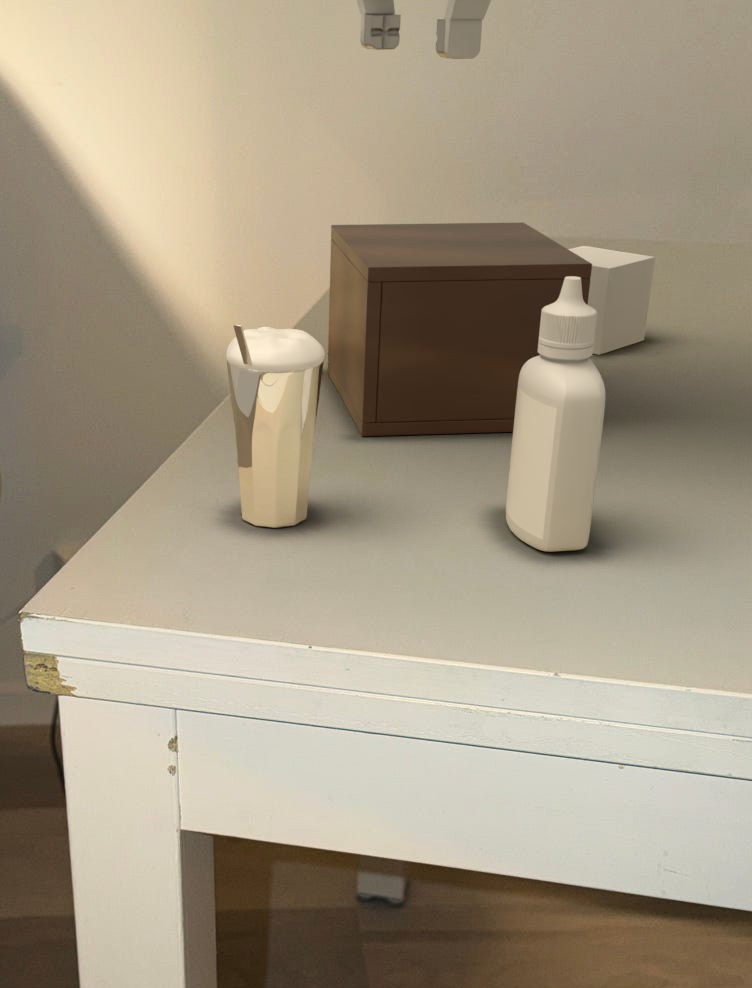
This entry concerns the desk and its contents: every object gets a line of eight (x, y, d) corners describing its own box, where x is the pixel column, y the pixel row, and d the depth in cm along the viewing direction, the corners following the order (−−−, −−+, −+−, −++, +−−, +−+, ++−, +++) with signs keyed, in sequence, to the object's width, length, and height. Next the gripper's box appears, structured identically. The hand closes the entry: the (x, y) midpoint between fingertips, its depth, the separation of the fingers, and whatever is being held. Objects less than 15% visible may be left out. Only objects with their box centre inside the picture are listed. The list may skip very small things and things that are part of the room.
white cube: (599, 355, 92) (609, 268, 89) (528, 340, 96) (536, 256, 93) (644, 340, 96) (655, 256, 93) (574, 326, 100) (583, 245, 97)
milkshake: (199, 525, 63) (195, 318, 59) (261, 493, 67) (262, 296, 63) (277, 546, 61) (279, 332, 56) (337, 511, 65) (343, 309, 60)
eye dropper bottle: (488, 547, 61) (511, 286, 55) (510, 506, 66) (533, 262, 60) (583, 560, 60) (616, 295, 54) (598, 517, 64) (630, 269, 59)
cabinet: (327, 373, 88) (331, 224, 83) (510, 368, 89) (524, 222, 84) (361, 436, 75) (368, 267, 71) (573, 430, 77) (592, 263, 72)
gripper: (606, -289, 56) (571, 63, 62) (401, -228, 73) (390, 44, 79) (475, -299, 54) (453, 66, 60) (296, -234, 71) (293, 45, 77)
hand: (416, 53), depth 70 cm, fingers open, 8 cm apart
